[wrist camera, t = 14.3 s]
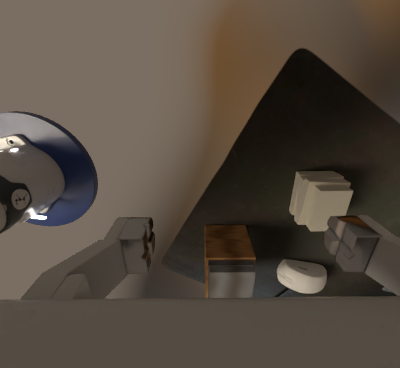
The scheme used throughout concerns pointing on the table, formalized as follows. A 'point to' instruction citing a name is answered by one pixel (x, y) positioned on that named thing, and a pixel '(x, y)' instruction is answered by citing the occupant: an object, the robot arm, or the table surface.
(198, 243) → the table surface
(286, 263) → the computer mouse
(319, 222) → the beige flat block
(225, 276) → the oak stand
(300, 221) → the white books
